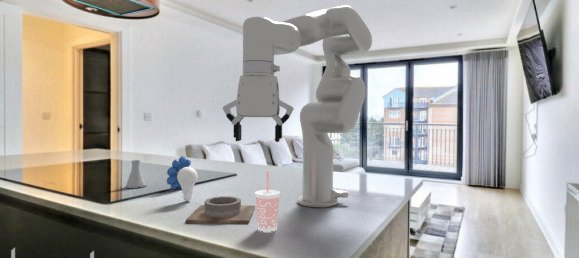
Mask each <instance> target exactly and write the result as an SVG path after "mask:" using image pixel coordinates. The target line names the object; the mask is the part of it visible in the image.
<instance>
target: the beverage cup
mask: <svg viewBox="0 0 579 258" xmlns="http://www.w3.org/2000/svg"><path fill="white" fill-rule="evenodd" d="M269 175H270V172H269V171H266V189H260V190H259V189H258V190H256V191H255V192H254V196H255V201H256V205H255V206H256V217H257V218H256V219H257V231H259V230H260V231H259V232H261V231H263V232H262V233H272V232H271V231H274V232H276V231H277V229H278V216H279V215H278V214H279V202H280V201H279V200H280V196H281V191H279V190H276V189H269V188H270V186H269V185H270V184H269V182H270V181H269V179H270V176H269ZM275 230H276V231H275Z"/></svg>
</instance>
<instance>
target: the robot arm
mask: <svg viewBox="0 0 579 258" xmlns="http://www.w3.org/2000/svg"><path fill="white" fill-rule="evenodd" d="M319 41H322V50H323V55H324V59H325V69H324V72H323V74H322V76H321V78H320V81H319V83H318V85H317V88H316V91H315V99H316V101H312V102H308V103H306V104H305V105H304V106H302V108H301V110H300V112H299V113H300V114H299V121H300V127H301V134H302V194H301V196H298V197H297V204H299V205H302V206H304V207H309V208H310V207H311V208H329V207H334V206H336V205H338V201H339V200H338V199H339V198H342V199H343V198H344V199H347V198H348V197H349V192H348V191H343V190H336V189H335V188H334V145H333V144H334V143H333V142H332V139H331V138H330V136H329V134H348V133H350V132H352V131H353V130H354V128H355V126H356V123H357V121H358V118H359V115H360V112H361V110H362V107H363V104H364V101H365V98H366V85H365V82H364V80H363V79H362V78H361V76H359V75H352V74H351V73H352V72H351V68H350V65H348V64H349V63H348V62H346V60H344V59H343V56H348V55H349V56H350V55H359V54H365V53H367V52H369V51H370V49H371V47H372V43H373V36H372V33H371V31H370V29H369V27H368V26H367V24H366V23H365V21H364V20H363V18H362V16H360V14H359V13H358V12H357V11H356V10H355V9H354V8H353V7H351V6H350V5H346V4H345V5H341V6H335V7H328V8H324V9H320V10H317V11H313V12H310V13H306V14H303V15H299V16H296V17H295V16H294V17H292V18H289V19H286V20H283V21H273V20H272V19H270V18H267V17H264V16H250V17H247V18H246V19H244V21H243V24H242V75H240V76H239V80H238V86H237V92H236V93H237V94H236V99H235V100H233V101H231V102H229V103H227V104H226V105H224V106H222V110H223V112H224V114H225V115H226V118H227V120H229V121H230V122H231V124H232V125H233V138H235V142H241V141H242V125H241V122H242V121H243V120H244V118H272V119H273V120H274V122H275V123H276V124H275V125H274V133H275V134H274V142H275V143H279V142H280V140H281V139H282V138H283V125H284V124H285V123H286V122H287V121H288V119H290V117H291V115H292V113H293V111H294V109H295V108H294V107H293V106H292V105H290V104H288V103H286V102H284V101H282V100H280V89H279V81H278V76H276V75H275V74H276V73H277V72H280V70H281V66H280V65H277V64H275V56H280V55H288V54H292V53H294V52H296V51H297V50H298V49H299V47H300V48H301V47H305V46H306V47H307V46H309V45H312V44H315V43H317V42H319ZM233 108H236V109H235V110H236V115H234V114H233V113H232V109H233ZM280 108H283V109H285V113H284V114H283V116H282V117H280Z"/></svg>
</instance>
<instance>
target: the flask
mask: <svg viewBox="0 0 579 258" xmlns="http://www.w3.org/2000/svg"><path fill="white" fill-rule="evenodd" d="M130 163H131V169H130V174H129V176H128V179H127V181H126V185H125V188H127V189H138V187H140V188H145V187H147V183H146V181H145V179H144V176H143V174H142V170H141V166H140V163H141V159H133V160H131V161H130Z"/></svg>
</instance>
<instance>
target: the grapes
mask: <svg viewBox="0 0 579 258" xmlns="http://www.w3.org/2000/svg"><path fill="white" fill-rule="evenodd" d="M191 165H192V161H191V159H189V158H186V157H185V156H180V157H179V158H178V159H177V158H176V159H173V161H172V162H171V166H170V167H168V168H167V171H166V172H167V175H168V177H167V179H166V184H167V185H169V186H170V189H171V190H172V191H174V190H175V191H176V190H177V189H179V190H182V187H181V185H180V183H179V182H178V179H177V175H178V172H179V171H180V170H181V169H182V168H184V167H191V168H193V167H192V166H191Z"/></svg>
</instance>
